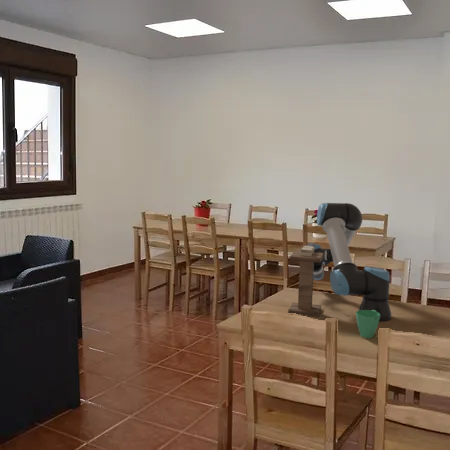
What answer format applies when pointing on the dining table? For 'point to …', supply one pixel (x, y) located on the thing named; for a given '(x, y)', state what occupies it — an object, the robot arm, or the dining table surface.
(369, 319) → the mug
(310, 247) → the bar
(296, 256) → the stand
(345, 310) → the dining table surface
